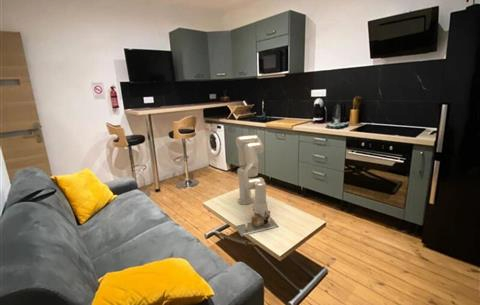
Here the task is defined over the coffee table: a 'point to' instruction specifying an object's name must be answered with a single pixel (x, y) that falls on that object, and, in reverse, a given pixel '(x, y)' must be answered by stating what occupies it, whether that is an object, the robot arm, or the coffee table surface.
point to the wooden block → (258, 220)
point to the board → (248, 229)
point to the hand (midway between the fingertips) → (261, 220)
